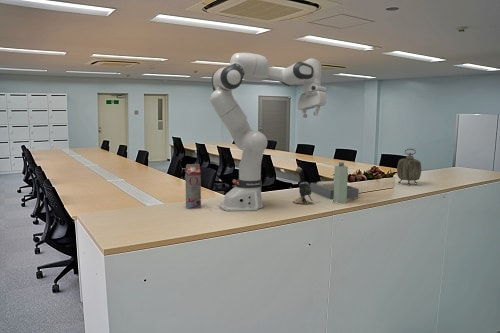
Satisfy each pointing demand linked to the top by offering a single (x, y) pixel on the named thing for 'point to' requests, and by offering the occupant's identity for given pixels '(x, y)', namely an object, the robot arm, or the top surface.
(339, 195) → the drink bottle
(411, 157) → the tabletop clock
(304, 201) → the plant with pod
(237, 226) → the top surface
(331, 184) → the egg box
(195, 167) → the juice carton
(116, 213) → the top surface
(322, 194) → the tray
